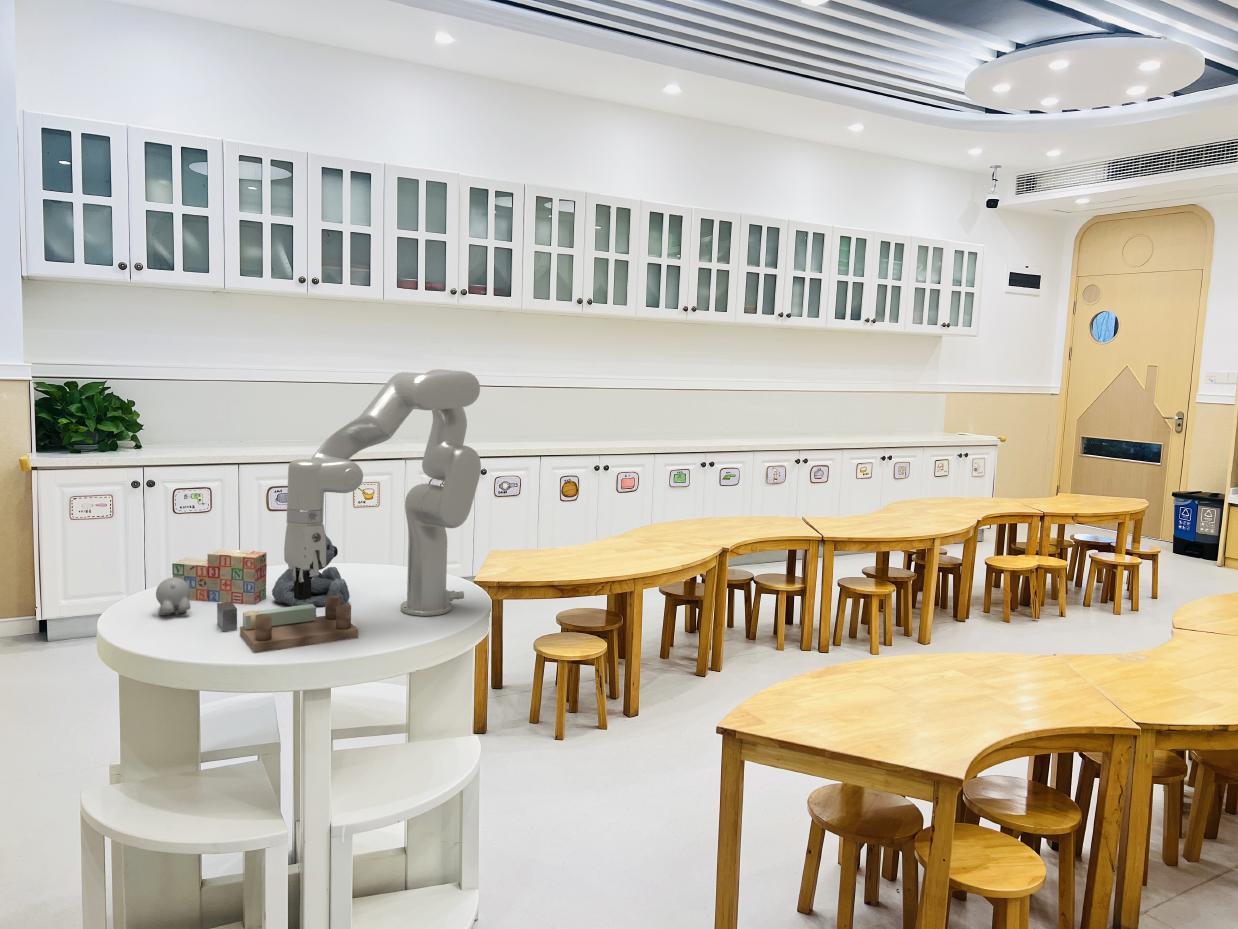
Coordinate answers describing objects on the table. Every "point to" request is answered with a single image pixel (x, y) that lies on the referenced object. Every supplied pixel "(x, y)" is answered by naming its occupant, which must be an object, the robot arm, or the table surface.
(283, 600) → the koala plush
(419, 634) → the table surface
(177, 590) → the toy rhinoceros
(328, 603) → the stool seat
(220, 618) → the block
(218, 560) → the stack of blocks
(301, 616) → the folding leg
